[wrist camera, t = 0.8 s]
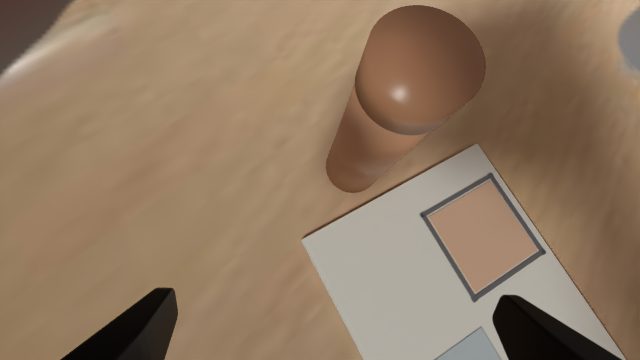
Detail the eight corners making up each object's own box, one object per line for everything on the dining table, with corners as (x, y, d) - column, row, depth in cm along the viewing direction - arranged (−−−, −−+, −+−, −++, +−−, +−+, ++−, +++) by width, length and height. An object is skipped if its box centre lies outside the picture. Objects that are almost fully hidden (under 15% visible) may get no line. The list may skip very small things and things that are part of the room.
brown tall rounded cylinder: (388, 178, 23) (509, 81, 10) (341, 203, 22) (410, 131, 9) (361, 133, 23) (441, -10, 11) (314, 155, 23) (344, 29, 10)
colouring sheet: (629, 371, 21) (637, 374, 20) (451, 527, 17) (455, 535, 17) (474, 145, 24) (477, 142, 24) (300, 240, 21) (301, 239, 20)
